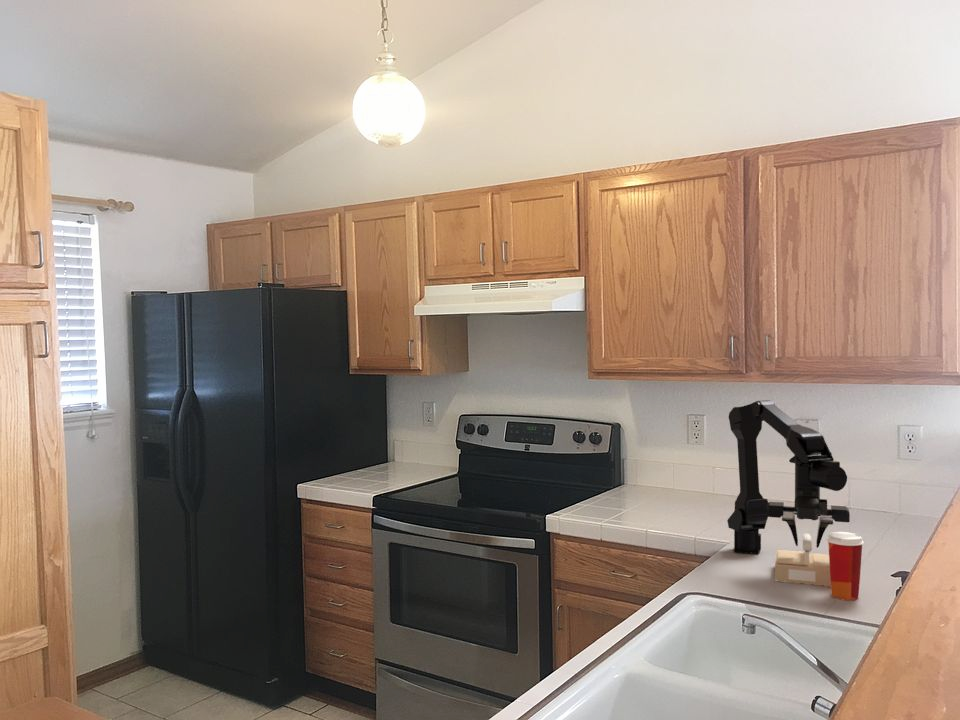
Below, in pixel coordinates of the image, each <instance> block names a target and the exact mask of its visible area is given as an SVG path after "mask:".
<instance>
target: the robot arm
mask: <svg viewBox="0 0 960 720" xmlns="http://www.w3.org/2000/svg"><path fill="white" fill-rule="evenodd" d="M728 413H729V414H728V420H729V426H730V427H729V428H730V430H731V432H732V433H733V435H734V437H735V438H736V441H737V457H738V458H737V459H738V477H739V491H740V492H739V494H738V495H737V497H736V500H735V501H734V511H733V512H732V513H731V515H730V516H729V517H728V518H727V521H726V522H727V526H728V527H727V528H729V529H731V530H733V537H734V538H733V539H734V542H733V543H734V544H733V545H734V547H733V550H732V552H734V553H738V554H739V553H740V554H749V555H750V554H751V555H759V554H760V551H761V550H762V533H760V530H764V529H765V528H766V524H767V523H768V522H767V521H768V518H778V519H780V518H781V521H783V522H786V523H787V526H788V527H789V530H790V532H791V534H792V538H793V540H794V544H795V547H798V546H799V545H798V544H799V539H798V538H799V537H798V530H797V521H796V518H797V519H798V520H811V521H818V520H819V521H818V526H817V533H816V539H815V540H816V545H815V546H816V548H817V549H818V548H819V547H820V543H821V541H822V539H823V535H824V534H825V531H826V529H827V527H829V525H830V526H831V525H834V521H835V522H837V523H850V522H851V521H850V517H851V516H850V510H849V509H850V508H848V506H846V505H830V508H828V499H824V498H823V499H822V498H821V490H820V489H821V488H823V489H827V490H830V491H835V492H838V491H841V490H843V489H844V488H845V486H846V484H847V482H848V475H847V473H846V471H845V470H844V468H842V467H841V462H840V461H837V460H835V459H834V457H833V454H832V452H831V450H830V449H829V448H830V447H828V445H827V442H826V440H825V438H824V435H823V434H822V432H819V431H817V430H814V429H813V428H811V427H808V426H803V425H801V424H799V423H798V422H797V421H796V420H794V419H792V418H791V417H790V416H789V415H788V414H787V413H785V412H784V411H783V410H782V409H781V408H779V407H778V406H777V405H776V404H775V402H774V401H772V400H770V399H769V400H755V401H754V402H751V403H749V404H746V405H743V406H742V405H741V406H734V407H733V408H732V409H731V410H730V411H728ZM763 421H764V422H765V423H766V424H767V425H769V427H771V428H773V429H774V430H775V431H776V432H777V433H778V434H779V435H781V436H782V437H783V438H784V440H785V443H786V447H787V448H788V449H789V450H790V452H791V453H792V454H793V455H794V456H791V458H790V459H789V461H788V462H789V463H791V464H794V506H787V505H786V506H785V505H784V502H781V501H780V502H779V501H769V500H768V498H764V497H763V495H762V494H761V492H760V481H759V479H760V477H759V462H758V444H757V442H758V441H757V438H758V436H759V434H760V433H761V431H762V428H763Z"/></svg>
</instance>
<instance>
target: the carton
mask: <svg viewBox="0 0 960 720" xmlns="http://www.w3.org/2000/svg"><path fill="white" fill-rule="evenodd" d="M777 557H778V550H776V553H775V562H774V563H775V565H774V569H775V570H774V571H775V572H774V576H775V577H774V581H775V580H778V581H777V582H779V581H786V582H785V583H789V582H794V583H793V584H800V583H805V584H804V585H810V584H816V585H815V586H821V585H824V586H823V587H831V580H830V563H829V554H826V553H825V554H824V553H814V552H813V553H809V564H808V566H806V565H794V564H783V563H777Z"/></svg>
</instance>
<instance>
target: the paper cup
mask: <svg viewBox="0 0 960 720" xmlns="http://www.w3.org/2000/svg"><path fill="white" fill-rule="evenodd" d="M826 541H827V542H828V555H829V563H830V580H831V586H830V590H831V591H830V592H831V593H830V594H831V596H832V597H833V598H835V597H836V598H835V599H837V598H839V599H838V600H841V599H844V600H845V601H856V600H858V599H859V593H860V581H861V580H860V579H861V568H862V556H863V555H862V552H863V545H864V544H865V543H864V540H863V537H862V536H861V535H859V534H857V533H854V532H848V531H847V532H846V531H832V532H830V533H829V534H828V537H826ZM844 600H843V601H844Z"/></svg>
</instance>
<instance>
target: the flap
mask: <svg viewBox="0 0 960 720" xmlns="http://www.w3.org/2000/svg"><path fill="white" fill-rule="evenodd" d="M802 550H803V551H799V550H787V549H777V551H778V557H777V563H783V564H794V565H806V566H808V564H809V554H810V552H812V550H813V547H812V536H811V534H809V533H803V535H802Z"/></svg>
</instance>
